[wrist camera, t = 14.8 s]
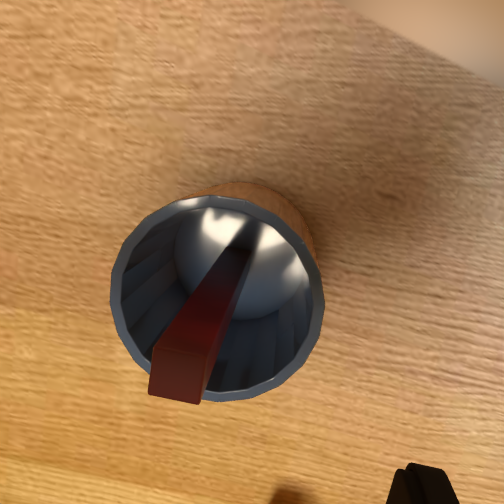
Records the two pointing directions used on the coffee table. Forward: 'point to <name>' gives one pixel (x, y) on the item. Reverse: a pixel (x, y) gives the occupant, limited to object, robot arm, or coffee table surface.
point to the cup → (253, 293)
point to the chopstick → (198, 331)
